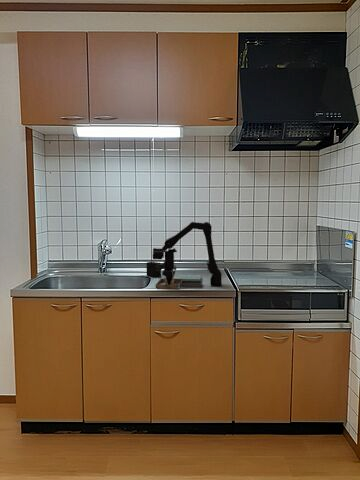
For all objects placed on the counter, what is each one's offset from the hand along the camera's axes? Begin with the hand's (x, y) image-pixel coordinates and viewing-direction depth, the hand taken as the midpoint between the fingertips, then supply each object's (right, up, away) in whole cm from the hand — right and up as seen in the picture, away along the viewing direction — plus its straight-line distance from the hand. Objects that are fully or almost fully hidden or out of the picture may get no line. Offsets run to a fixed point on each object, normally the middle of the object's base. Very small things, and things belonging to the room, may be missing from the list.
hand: (169, 283), depth 252 cm
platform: (+12, +1, +16) cm, 20 cm away
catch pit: (+13, -1, -2) cm, 14 cm away
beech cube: (0, -1, 0) cm, 1 cm away
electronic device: (-12, +2, +27) cm, 29 cm away
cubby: (0, -1, 0) cm, 1 cm away
